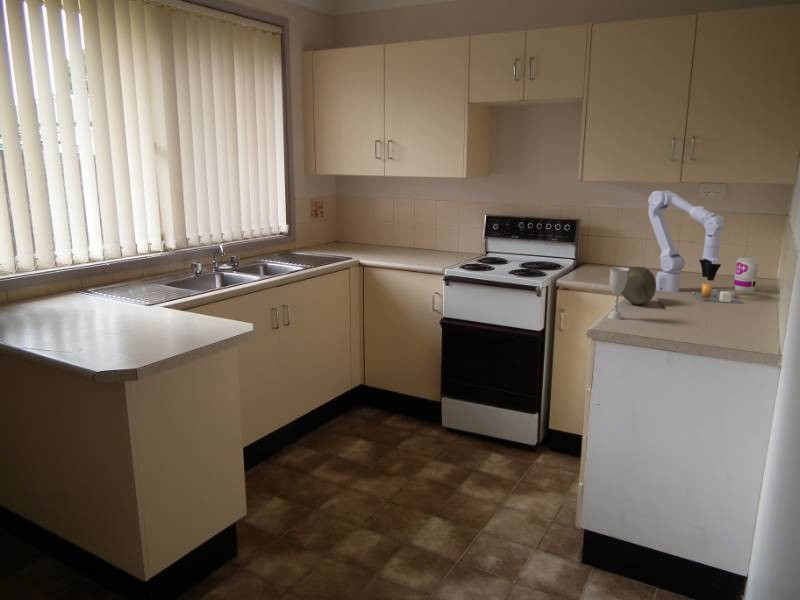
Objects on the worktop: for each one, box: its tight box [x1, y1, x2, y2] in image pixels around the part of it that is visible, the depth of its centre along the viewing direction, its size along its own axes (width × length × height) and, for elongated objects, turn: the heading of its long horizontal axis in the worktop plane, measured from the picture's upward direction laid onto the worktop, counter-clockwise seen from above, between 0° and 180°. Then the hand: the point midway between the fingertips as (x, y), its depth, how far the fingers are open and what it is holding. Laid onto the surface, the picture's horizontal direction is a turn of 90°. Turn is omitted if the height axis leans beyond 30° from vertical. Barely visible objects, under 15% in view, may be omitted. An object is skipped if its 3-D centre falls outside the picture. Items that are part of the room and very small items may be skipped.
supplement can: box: [732, 256, 759, 293], centre depth 274 cm, size 8×8×15 cm
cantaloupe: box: [620, 266, 657, 306], centre depth 249 cm, size 14×14×15 cm
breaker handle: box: [719, 291, 731, 302], centre depth 252 cm, size 3×4×4 cm
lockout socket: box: [711, 288, 735, 298], centre depth 262 cm, size 7×7×2 cm
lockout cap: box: [700, 282, 713, 297], centre depth 261 cm, size 4×4×5 cm
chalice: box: [607, 266, 629, 321], centre depth 226 cm, size 7×7×18 cm
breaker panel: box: [689, 291, 744, 305], centre depth 258 cm, size 16×18×2 cm
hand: (707, 278), depth 260 cm, fingers open, 7 cm apart
